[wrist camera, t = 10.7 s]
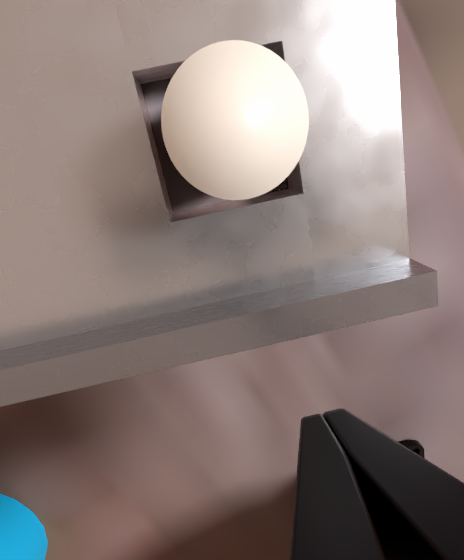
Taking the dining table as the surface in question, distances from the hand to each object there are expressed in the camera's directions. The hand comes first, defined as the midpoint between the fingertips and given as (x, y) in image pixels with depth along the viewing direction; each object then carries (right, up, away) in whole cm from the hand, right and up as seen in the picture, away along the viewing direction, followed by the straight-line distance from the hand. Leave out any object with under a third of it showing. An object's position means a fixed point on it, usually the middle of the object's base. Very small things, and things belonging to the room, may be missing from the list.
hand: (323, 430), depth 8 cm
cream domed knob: (-2, +9, +10) cm, 13 cm away
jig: (-5, +8, +9) cm, 14 cm away
